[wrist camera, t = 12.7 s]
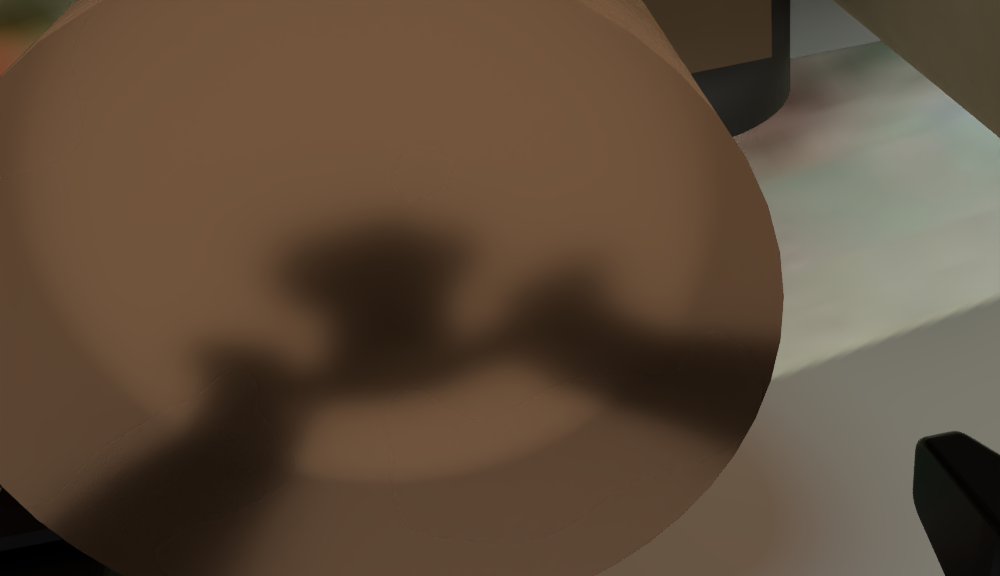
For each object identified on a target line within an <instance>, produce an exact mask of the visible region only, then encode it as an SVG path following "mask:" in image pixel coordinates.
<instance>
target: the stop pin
mask: <svg viewBox="0 0 1000 576" xmlns="http://www.w3.org/2000/svg"><path fill="white" fill-rule="evenodd" d="M783 299H784V295H783V283H782V272H781V260H780V251H779V247H778V243H777V239H776V235H775V232H774V228H773V224H772V220H771V216H770V212H769V208H768V205H767V203H766V201H765V198H764V196H763V194H762V192H761V189H760V187H759V185H758V183H757V180H756V178H755V176H754V174H753V171H752V169H751V167H750V165H749V162H748V160H747V159H746V157H745V156H744V154H743V153H742V151H741V150H740V148H739V147H738V145H737V143H736V142H735V140H734V139H733V137H732V136H731V134H730V133H729V131H728V130H727V128H726V127H725V125H724V124H723V122H722V121H721V119H720V118H719V116H718V115H717V113H716V112H715V110H714V108H713V107H712V105H711V104H710V102H709V101H708V99H707V98H706V96H705V95H704V93H703V92H702V90H701V89H700V87H699V86H698V84H697V83H696V81H695V80H694V78H693V77H692V75H691V74H690V72H689V71H688V69H687V68H686V66H685V65H684V63H683V61H682V60H681V58H680V57H679V55H678V54H677V52H676V51H675V49H674V48H673V46H672V45H671V43H670V42H669V40H668V39H667V37H666V36H665V34H664V33H663V31H662V30H661V28H660V27H659V25H658V24H657V22H656V21H655V19H654V17H653V16H652V14H651V13H650V11H649V10H648V8H647V7H646V5H645V4H644V2H643V1H642V0H76V1H75V2H74V3H73V4H72V5H71V6H70V7H69V8H68V9H67V10H66V11H65V12H64V13H63V14H62V15H61V16H60V17H59V18H58V19H57V20H56V21H55V22H54V23H53V24H52V25H51V26H50V27H49V28H48V29H47V30H46V31H45V32H44V33H43V34H42V35H41V36H40V37H39V38H38V39H37V40H36V41H35V42H34V43H33V44H32V45H31V46H30V47H29V48H28V49H27V50H26V51H25V52H24V53H23V54H22V55H21V56H20V57H19V58H18V59H17V60H16V61H15V62H14V63H13V64H12V65H11V66H10V67H9V68H8V69H7V70H6V71H5V72H4V73H3V74H2V75H1V76H0V484H1V486H2V487H3V488H4V489H5V490H6V491H7V492H8V493H10V494H11V495H12V496H13V497H14V498H15V499H16V500H17V501H18V502H19V503H20V504H21V505H22V506H23V507H24V508H25V509H26V510H28V511H29V512H30V513H31V514H32V515H33V516H34V517H35V518H36V519H37V520H39V521H40V522H41V523H43V524H44V525H45V526H47V527H48V528H49V529H51V530H52V531H53V532H55V533H56V534H57V535H59V536H60V537H61V538H63V539H64V540H65V541H67V542H68V543H69V544H71V545H72V546H73V547H75V548H77V549H78V550H80V551H82V552H83V553H85V554H87V555H88V556H90V557H92V558H93V559H95V560H97V561H98V562H100V563H102V564H103V565H105V566H107V567H108V568H110V569H112V570H114V571H116V572H118V573H120V574H122V575H124V576H595V575H596V574H598V573H600V572H602V571H604V570H606V569H608V568H610V567H612V566H614V565H615V564H617V563H618V562H620V561H622V560H623V559H625V558H626V557H628V556H629V555H631V554H632V553H634V552H635V551H637V550H638V549H640V548H641V547H643V546H644V545H646V544H647V543H649V542H650V541H651V540H653V539H654V538H655V537H656V536H658V535H659V534H660V533H661V532H663V531H664V530H665V529H666V528H667V527H669V526H670V525H671V524H672V523H674V522H675V521H676V520H677V519H679V518H680V517H681V516H682V515H683V514H684V513H685V512H686V511H687V510H688V509H689V508H690V507H691V506H692V505H693V504H694V503H695V502H696V501H697V500H698V498H700V496H702V494H703V493H704V492H705V491H706V490H707V489H708V488H709V487H710V486H711V485H712V484H713V482H714V481H715V480H716V478H717V477H718V476H719V474H720V473H721V472H722V470H723V469H724V468H725V467H726V465H727V464H728V463H729V461H730V460H731V459H732V457H733V456H734V455H735V453H736V451H737V450H738V448H739V446H740V444H741V443H742V441H743V439H744V437H745V436H746V434H747V432H748V430H749V429H750V427H751V425H752V424H753V422H754V420H755V418H756V416H757V413H758V411H759V408H760V406H761V403H762V401H763V398H764V396H765V393H766V391H767V388H768V386H769V384H770V381H771V377H772V373H773V369H774V364H775V360H776V356H777V352H778V348H779V343H780V338H781V325H782V312H783Z"/></svg>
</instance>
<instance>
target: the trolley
mask: <svg viewBox="0 0 1000 576" xmlns="http://www.w3.org/2000/svg"><path fill="white" fill-rule="evenodd" d="M642 1H643V2H644V4H645V5H646V7H647V8H648V10H649V11H650V13H651V14H652V16H653V17H654V19H655V21H656V22H657V24H658V25H659V27H660V28H661V30H662V31H663V33H664V34H665V36H666V37H667V39H668V40H669V42H670V43H671V45H672V46H673V48H674V49H675V51H676V52H677V54H678V55H679V57H680V58H681V60H682V61H683V63H684V65H685V66H686V68H687V69H688V71H689V72H690V74H691V75H692V77H693V78H694V80H695V81H696V83H697V84H698V86H699V87H700V89H701V90H702V92H703V93H704V95H705V96H706V98H707V99H708V101H709V102H710V104H711V105H712V107H713V108H714V110H715V112H716V113H717V115H718V116H719V118H720V119H721V121H722V122H723V124H724V125H725V127H726V128H727V130H728V131H729V133H730V134H731V136H732V137H733V136H736V135H739V134H741V133H744V132H746V131H748V130H750V129H752V128H754V127H756V126H758V125H759V124H761V123H763V122H764V121H766V120H767V119H769V118H770V117H771V116H772V115H774V114H775V113H776V112H777V111H778V110H779V109H780V108H781V107H782V106H783V105H784V103H785V101H786V100H787V98H788V96H789V92H790V0H642Z"/></svg>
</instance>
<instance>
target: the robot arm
mask: <svg viewBox="0 0 1000 576" xmlns="http://www.w3.org/2000/svg"><path fill="white" fill-rule="evenodd" d="M913 479H914V480H913V499H914V504H915V507H916V510H917V513H918V516H919V518H920V520H921V523H922V525H923V527H924V529H925V531H926V534H927V536H928V538H929V541H930V543H931V545H932V547H933V549H934V552H935V554H936V556H937V558H938V561H939V563H940V565H941V567H942V570H943V572H944V574H945V576H1000V455H999V454H998V453H996V452H994V451H993V450H991V449H990V448H988V447H986V446H985V445H983V444H981V443H980V442H978V441H977V440H975V439H973V438H972V437H970V436H968V435H966V434H964V433H962V432H958V431H951V432H946V433H941V434H936V435H932V436H927V437H923V438H922V439H920V440H919V441H918V443H917V445H916V449H915V465H914V478H913ZM0 488H1V490H0V576H124V575H122V574H120V573H118V572H116V571H114V570H112V569H110V568H108V567H107V566H105V565H103V564H102V563H100V562H98V561H97V560H95V559H93V558H92V557H90V556H88V555H87V554H85V553H83V552H82V551H80V550H78V549H77V548H75V547H73V546H72V545H71V544H69V543H68V542H67V541H65V540H64V539H63V538H61V537H60V536H59V535H57V534H56V533H55V532H53V531H52V530H51V529H49V528H48V527H47V526H45V525H44V524H43V523H41V522H40V521H39V520H37V519H36V518H35V517H34V516H33V515H32V514H31V513H30V512H29V511H28V510H26V509H25V508H24V507H23V506H22V505H21V504H20V503H19V502H18V501H17V500H16V499H15V498H14V497H13V496H12V495H11V494H10V493H8V492H7V491H6V490H5V489H4V488H3V487H2V486H1V484H0Z"/></svg>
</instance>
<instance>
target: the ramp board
mask: <svg viewBox="0 0 1000 576" xmlns="http://www.w3.org/2000/svg"><path fill="white" fill-rule="evenodd" d="M878 41H882V40H880V39H879V38H878V37H877V36H876V35H874V34H873V33H872V32H871V31H869V30H868V29H867V28H866V27H865V26H863V25H862V24H861V23H860V22H859V21H857V20H856V19H855V18H854V17H852V16H851V15H850V14H849V13H848V12H846V11H845V10H844V9H843V8H842V7H840V6H839V5H838V4H837V3H836V2H834V1H833V0H790V59H794V58H799V57H804V56H809V55H814V54H818V53H823V52H828V51H833V50H838V49H843V48H848V47H853V46H858V45H863V44H868V43H873V42H878Z"/></svg>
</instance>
